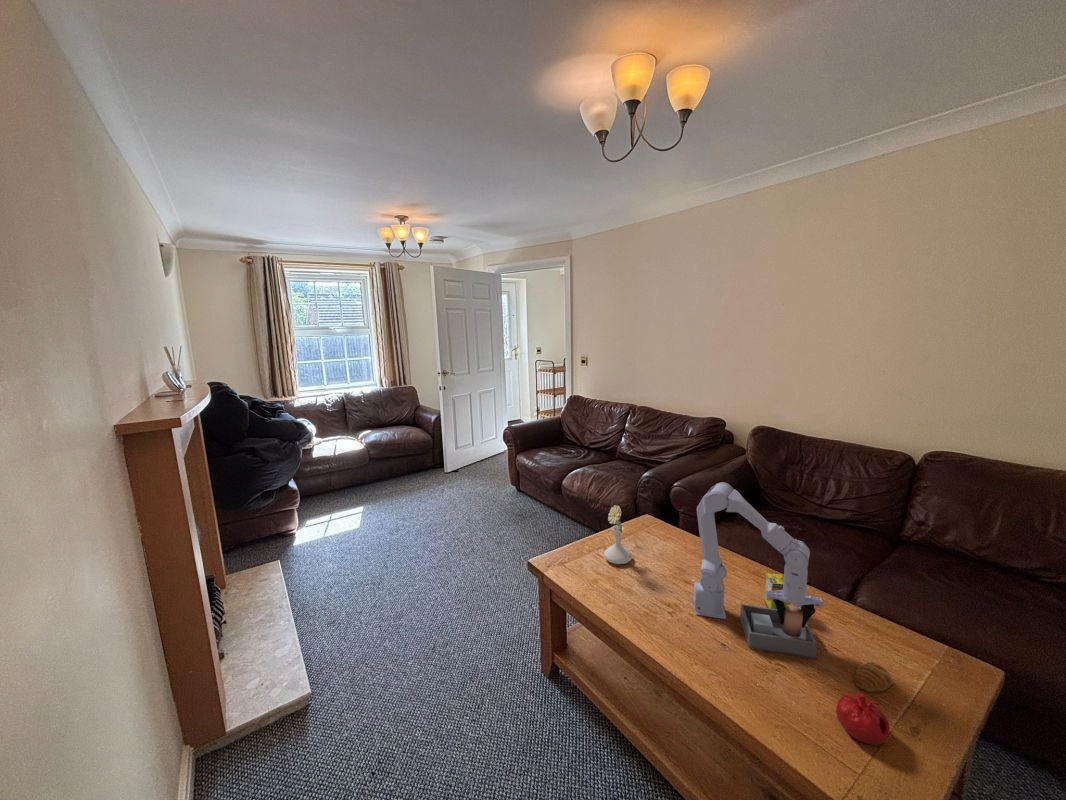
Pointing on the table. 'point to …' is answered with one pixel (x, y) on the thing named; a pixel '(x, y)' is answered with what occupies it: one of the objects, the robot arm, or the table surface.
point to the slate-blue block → (761, 624)
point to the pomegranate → (862, 719)
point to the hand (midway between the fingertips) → (791, 623)
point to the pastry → (873, 677)
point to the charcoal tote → (777, 635)
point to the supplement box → (774, 587)
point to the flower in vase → (617, 540)
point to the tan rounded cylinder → (792, 621)
